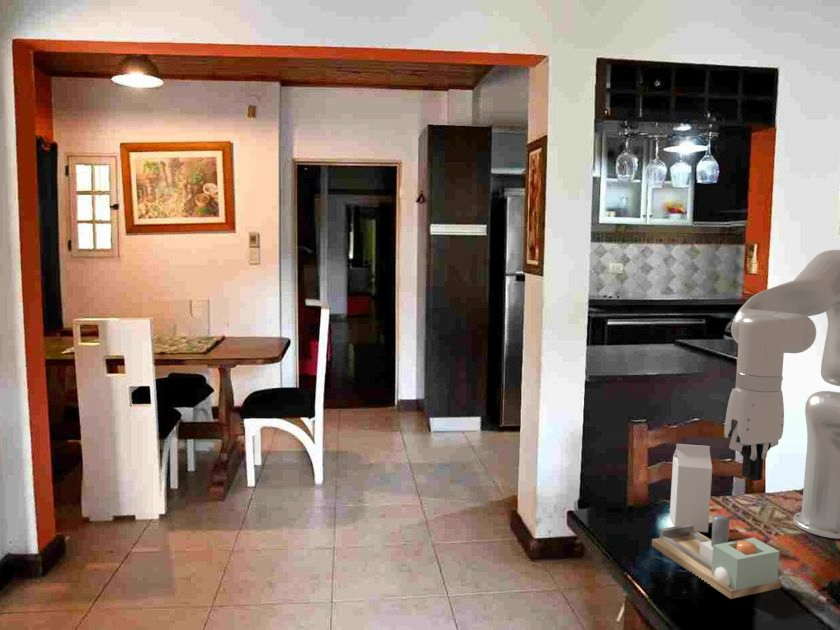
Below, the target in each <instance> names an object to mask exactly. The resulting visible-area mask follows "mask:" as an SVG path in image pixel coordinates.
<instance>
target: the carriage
mask: <svg viewBox="0 0 840 630" xmlns="http://www.w3.org/2000/svg"><path fill="white" fill-rule="evenodd" d="M730 521H731V519H730V517H728V516H726V515H724V514H714V515H712V526H711V527H712V528H711V541H707V542H702V543H700V553H699V556H700V557H702V558H703V559H705V560H706V561H708V562H709V563H711V564H712V556H713V545H716V544H721V543H727V542H729V536H730V535H729V533H730Z"/></svg>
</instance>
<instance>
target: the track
mask: <svg viewBox="0 0 840 630" xmlns="http://www.w3.org/2000/svg"><path fill="white" fill-rule="evenodd" d="M693 527H694V526H693V525H691V524H687V525H681V526H675V527H674V526H671V527H670V526H669V527H665V528H660V530H659V537H657V538H652V539H651V546H652V548H654V547H655V548H654V549H656V550H657V551H659V552H660V553H661V554H663V555H664V556H666V557H668V558H669V559H670V560H672V561H673V562H675V563H677V564H678V565H679V566H681V567H682V568H684V569H685V570H687V571H688V572H689V573H691V572H692V573H691V574H693V575H694V574H695V575H694V576H696V577H697V576H698V578H699V579H700V578H701V581H703V580H704V581H703V582H704V583H706V582H707V583H706V584H707V585H709V584H710V585H709V586H711V587H712V588H714V589H715V590H716V591H718V592H719V593H721V594H723V595H724V596H725V597H727V598H729V599H730V600H732V599H736V598H741V597H746V596H751V595H755V594H759V593H765V592H769V591H773V590H777V589H781V585H782V580H780V579H779V578H778V577H777V582H772V584H773V585H772V584H771V583H767V584H763V585H764V586H763V585H758V586H754V588H752V587H751V588H744V590H743V589H741V590H734V589H733V588H731V587H730V586H728V587H727V586H726V585H724V584H723V583H721V582H720V581H718V580H717V579H715V577H714V576H713V575H711V571H712V564H711V563H709V562H708V561H706V560H705V559H703V558H702V557H700V556H699V553H700V543H702V542H707V541H711V540H712V538H709V537H708V536H706V535H704V534H702V532H698V531H693ZM775 583H776V585H775ZM756 587H758V588H756ZM759 587H760V588H759ZM761 587H762V588H761ZM763 587H764V588H763ZM761 589H762V590H761ZM763 589H764V590H763ZM766 589H767V591H766ZM757 591H758V592H757ZM759 591H761V592H759ZM735 593H736V594H735Z"/></svg>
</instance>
